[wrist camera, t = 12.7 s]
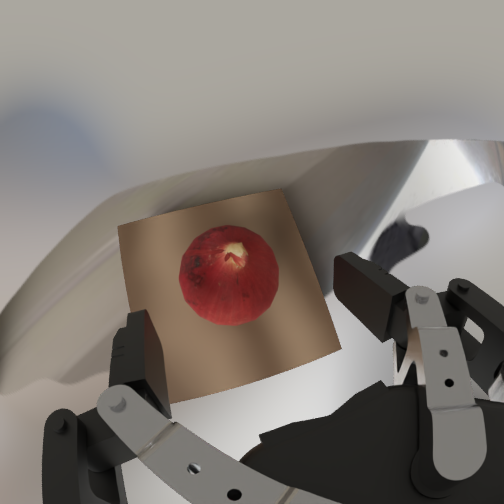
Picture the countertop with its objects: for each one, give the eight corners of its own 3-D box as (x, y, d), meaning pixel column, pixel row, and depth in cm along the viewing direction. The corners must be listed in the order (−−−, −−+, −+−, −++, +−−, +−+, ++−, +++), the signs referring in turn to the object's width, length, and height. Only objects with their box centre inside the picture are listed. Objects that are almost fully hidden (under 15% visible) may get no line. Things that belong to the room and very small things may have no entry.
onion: (181, 325, 18) (158, 306, 11) (191, 248, 20) (180, 187, 13) (264, 333, 19) (297, 319, 11) (268, 256, 21) (297, 201, 13)
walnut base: (168, 396, 21) (156, 406, 16) (133, 248, 25) (117, 226, 20) (318, 350, 24) (341, 348, 19) (270, 215, 28) (281, 188, 23)
